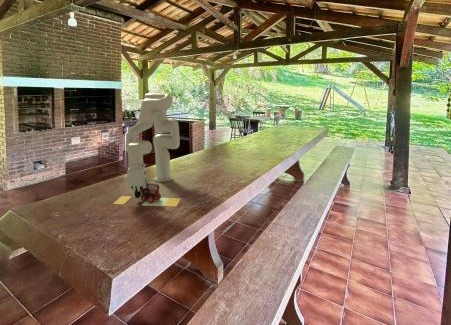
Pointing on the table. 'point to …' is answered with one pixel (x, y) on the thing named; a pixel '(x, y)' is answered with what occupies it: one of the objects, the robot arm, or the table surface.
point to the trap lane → (161, 202)
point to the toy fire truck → (150, 193)
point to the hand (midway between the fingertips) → (137, 197)
